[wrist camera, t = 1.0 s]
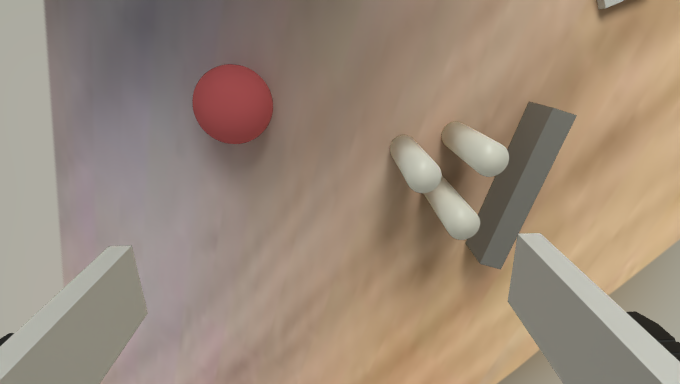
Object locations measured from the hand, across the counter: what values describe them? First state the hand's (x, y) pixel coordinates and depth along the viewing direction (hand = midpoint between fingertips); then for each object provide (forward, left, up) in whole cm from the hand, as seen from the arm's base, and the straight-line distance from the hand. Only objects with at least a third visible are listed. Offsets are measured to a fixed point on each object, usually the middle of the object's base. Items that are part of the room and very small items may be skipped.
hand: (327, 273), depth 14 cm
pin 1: (+4, +10, -22) cm, 25 cm away
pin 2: (+8, +7, -22) cm, 25 cm away
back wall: (+9, +13, -22) cm, 28 cm away
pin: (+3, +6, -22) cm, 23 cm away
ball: (-6, -6, -19) cm, 21 cm away
